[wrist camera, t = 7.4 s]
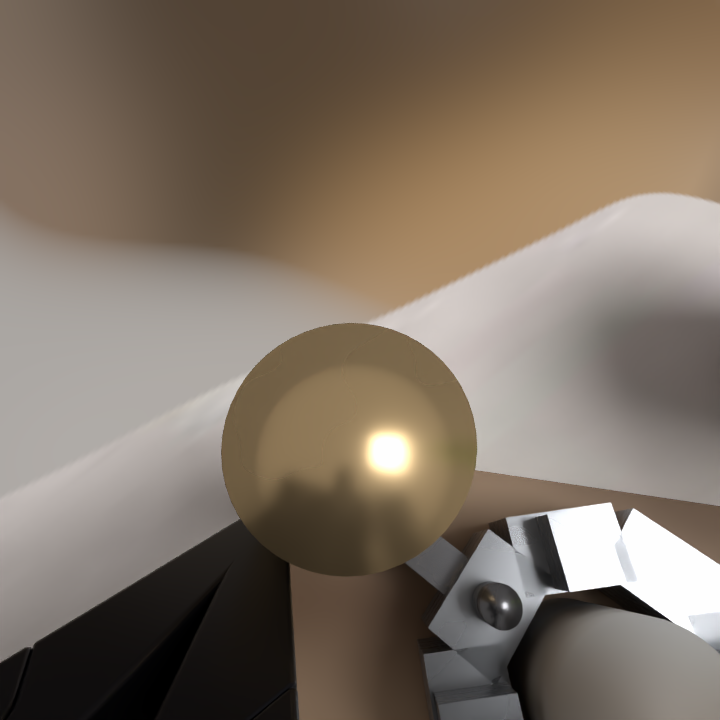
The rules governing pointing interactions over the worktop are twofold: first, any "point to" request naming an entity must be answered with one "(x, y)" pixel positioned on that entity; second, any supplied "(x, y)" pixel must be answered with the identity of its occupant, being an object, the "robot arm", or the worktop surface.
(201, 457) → the worktop surface
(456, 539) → the mount board
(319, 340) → the desk sculpture ornament
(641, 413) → the worktop surface
